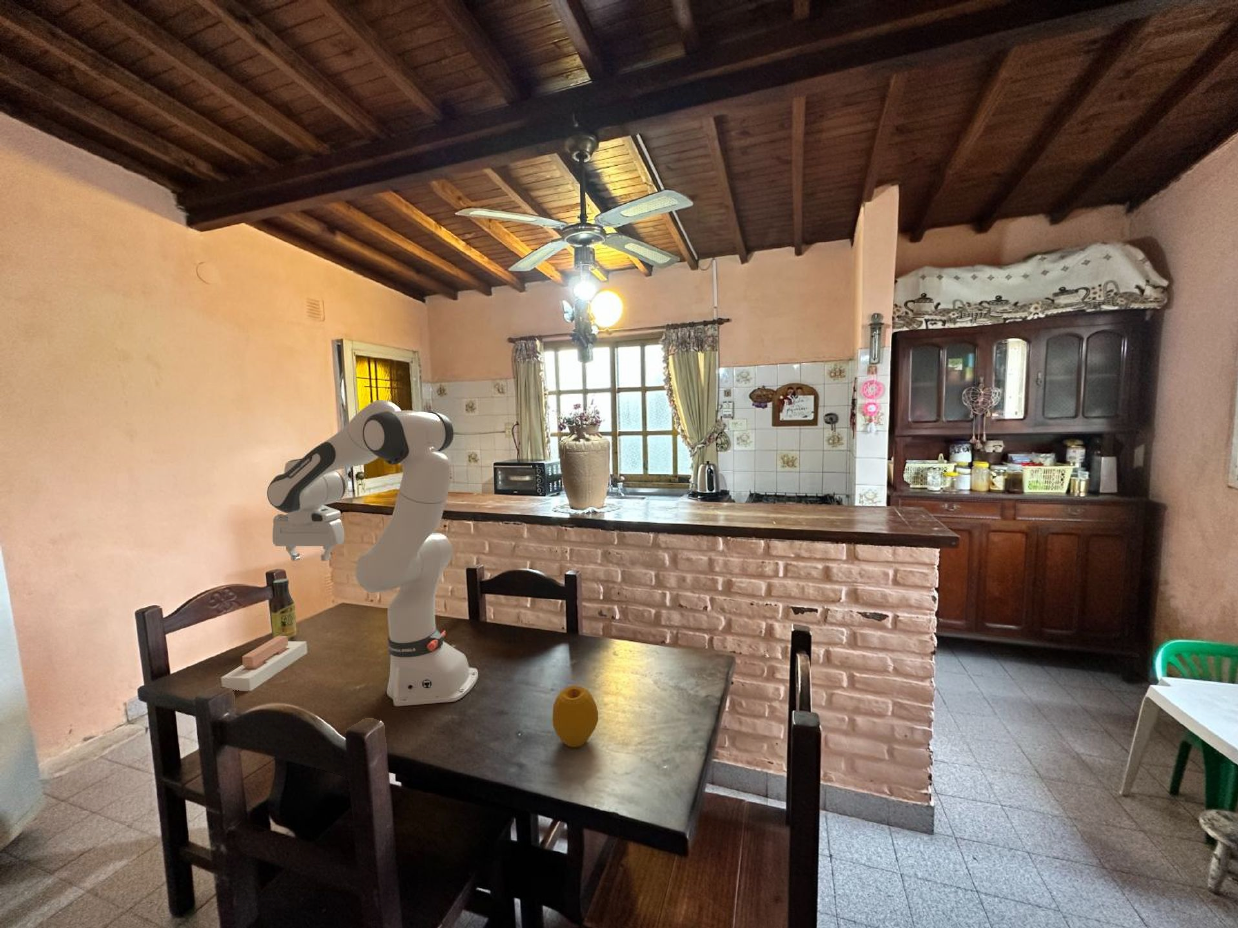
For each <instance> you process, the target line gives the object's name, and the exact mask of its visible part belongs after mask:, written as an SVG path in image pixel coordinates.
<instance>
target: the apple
mask: <svg viewBox="0 0 1238 928" xmlns="http://www.w3.org/2000/svg"><path fill="white" fill-rule="evenodd" d="M598 721H599V710H598V707H597V703H596V700H595V698H594V697H593V695H592V694H591V692H589V690H588V689H586V688H585V687H581V686H579V685H570V686H567V687H565V688H564V689H562V690H561V691H560V693H559V694H558V695H557V696H556V698H555V700H554V702H553V707H552V726H553V728H554V732H555V733H556V736H558V738H559V740H561V742H563V743H564V744H565V745H566V746H567V747H570V748H578V747H579V748H580V747H581V746H584V745H585V743H586V742H587V741H588V740H589V738H590V737H591V735H592V734H593V732H594V731H595V729H596V727H597V724H598Z"/></svg>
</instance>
